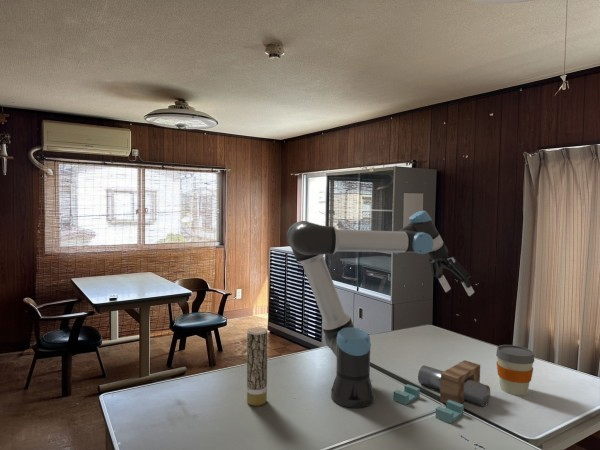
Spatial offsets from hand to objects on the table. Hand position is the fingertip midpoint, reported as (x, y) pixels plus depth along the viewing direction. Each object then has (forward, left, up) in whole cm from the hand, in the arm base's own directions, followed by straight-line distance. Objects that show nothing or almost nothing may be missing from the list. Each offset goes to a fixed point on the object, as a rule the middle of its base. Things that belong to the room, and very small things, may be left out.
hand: (459, 292), depth 163 cm
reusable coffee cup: (+2, -21, -34) cm, 40 cm away
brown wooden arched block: (-18, -10, -34) cm, 39 cm away
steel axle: (-18, -7, -34) cm, 39 cm away
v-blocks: (-34, -6, -34) cm, 48 cm away
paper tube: (-75, +35, -34) cm, 89 cm away
